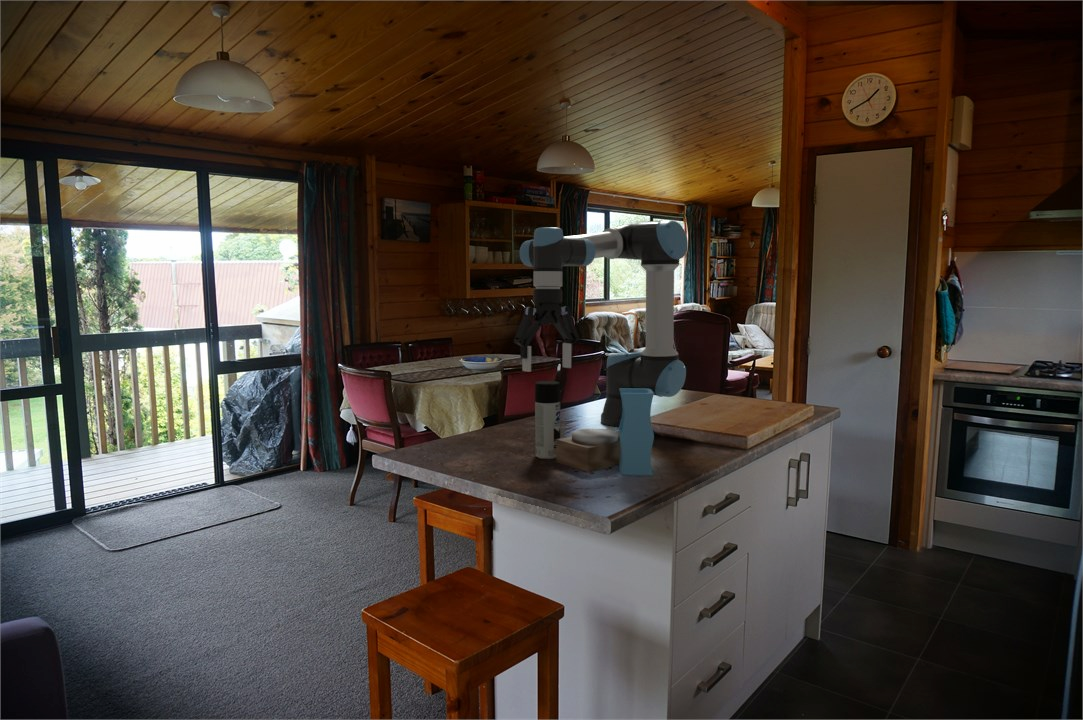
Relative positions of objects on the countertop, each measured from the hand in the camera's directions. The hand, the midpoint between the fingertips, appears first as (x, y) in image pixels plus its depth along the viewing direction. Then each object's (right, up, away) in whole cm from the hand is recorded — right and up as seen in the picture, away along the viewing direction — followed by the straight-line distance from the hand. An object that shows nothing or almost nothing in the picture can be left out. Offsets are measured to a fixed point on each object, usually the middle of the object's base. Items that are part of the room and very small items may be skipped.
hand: (547, 369), depth 185 cm
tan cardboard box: (+12, -24, -3) cm, 27 cm away
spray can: (0, -23, +3) cm, 24 cm away
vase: (+22, -25, -11) cm, 35 cm away
